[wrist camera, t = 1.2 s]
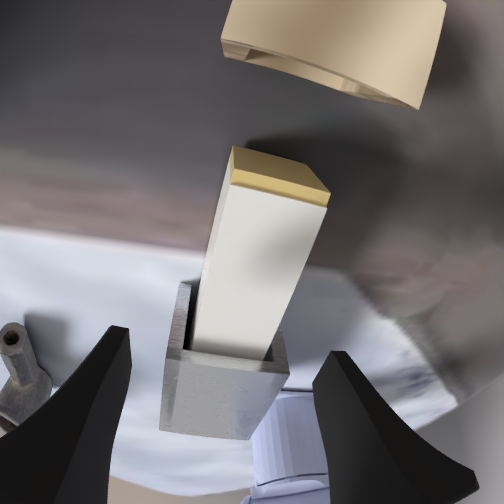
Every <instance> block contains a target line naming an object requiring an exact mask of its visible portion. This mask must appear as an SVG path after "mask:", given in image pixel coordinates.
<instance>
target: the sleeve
mask: <svg viewBox="0 0 504 504" xmlns="http://www.w3.org/2000/svg"><path fill="white" fill-rule="evenodd" d="M191 286H192V285H191V284H186V283H181V282H180V284H179V289H178V294H177V299H176V304H175V309H174V314H173V319H172V325H171V330H170V336H169V341H168V347H167V353H166V359H165V368H164V378H163V388H162V399H161V411H160V425H159V430H162V431H167V432H174V433H180V434H187V435H195V436H203V437H212V438H223V439H236V440H249V439H250V437H251V436H252V434H253V433H254V431H255V430H256V428H257V427H258V425H259V424H260V422H261V421H262V419H263V418H264V416H265V415H266V413H267V411H268V410H269V408H270V407H271V405H272V404H273V402H274V400H275V399H276V397H277V395H278V394H279V392H280V391H281V389H282V387H283V386H284V384H285V382H286V381H287V379H288V377H289V376H290V371H289V366H288V361H287V356H286V350H285V345H284V340H283V335H282V329H281V324H279V326H278V328H277V331H276V333H275V335H274V337H273V339H272V342H271V344H270V346H269V348H268V350H267V352H266V355H265V357H264V359H263V361H259V360H250V359H242V358H235V357H227V356H220V355H213V354H207V353H201V352H195V351H189V350H183V342H184V335H185V327H186V320H187V313H188V306H189V299H190V292H191Z"/></svg>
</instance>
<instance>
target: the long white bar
mask: <svg viewBox="0 0 504 504" xmlns="http://www.w3.org/2000/svg"><path fill="white" fill-rule="evenodd" d="M330 195H331V193H330V192H329V190H328V189H327V188H326V187H325V186H324V185H323V183H322V182H321V181H320V180H319V179H318V178H317V176H316V175H315V174H314V173H313V172H312V171H311V169H310V168H309V167H308V166H307V165H306V164H303V163H300V162H296V161H293V160H289V159H286V158H282V157H278V156H274V155H271V154H267V153H263V152H259V151H255V150H251V149H247V148H243V147H238V146H234V145H233V147H232V151H231V155H230V158H229V162H228V166H227V170H226V174H225V178H224V182H223V186H222V190H221V194H220V198H219V202H218V206H217V210H216V214H215V219H214V223H213V227H212V231H211V236H210V240H209V244H208V249H207V253H206V258H205V262H204V267H203V271H202V276H201V281H200V285H199V290H198V295H197V300H196V305H195V309H194V314H193V319H192V324H191V329H190V335H189V340H188V345H187V350H189V351H195V352H201V353H207V354H213V355H220V356H227V357H235V358H242V359H250V360H259V361H263V359H264V357H265V355H266V352H267V350H268V348H269V346H270V344H271V342H272V339H273V337H274V335H275V333H276V331H277V328H278V326H279V324H280V322H281V319H282V317H283V315H284V313H285V310H286V308H287V306H288V303H289V301H290V299H291V296H292V294H293V292H294V289H295V287H296V285H297V282H298V280H299V278H300V275H301V273H302V270H303V268H304V266H305V263H306V261H307V258H308V256H309V254H310V251H311V249H312V246H313V244H314V241H315V239H316V236H317V234H318V231H319V229H320V226H321V224H322V221H323V218H324V216H325V213H326V211H327V207H326V205H327V203H328V200H329V197H330Z"/></svg>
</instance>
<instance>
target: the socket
mask: <svg viewBox="0 0 504 504" xmlns="http://www.w3.org/2000/svg"><path fill="white" fill-rule="evenodd" d="M446 5H447V3H445V2H444V1H442V0H233V1H232V4H231V7H230V10H229V13H228V16H227V20H226V23H225V26H224V29H223V32H222V35H221V42H222V47H223V51H224V56H225V57H228V58H232V59H237V60H241V61H245V62H249V63H253V64H257V65H261V66H265V67H269V68H272V69H276V70H279V71H283V72H286V73H289V74H292V75H296V76H299V77H302V78H305V79H308V80H311V81H314V82H317V83H320V84H322V85H325V86H328V87H331V88H333V89H336V90H339V91H341V92H344V93H346V94H349V95H351V96H354V97H359V98H365V99H371V100H376V101H381V102H386V103H391V104H396V105H400V106H404V107H409V108H413V109H417V110H419V107H420V104H421V101H422V98H423V94H424V91H425V88H426V85H427V81H428V78H429V74H430V71H431V67H432V64H433V60H434V56H435V52H436V49H437V45H438V41H439V37H440V32H441V28H442V24H443V19H444V14H445V10H446Z"/></svg>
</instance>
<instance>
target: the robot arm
mask: <svg viewBox="0 0 504 504" xmlns="http://www.w3.org/2000/svg"><path fill="white" fill-rule="evenodd" d="M131 369H132V360H131V349H130V338H129V328H124V327H119V326H114V325H112V326H110V327H109V328H108V330H107V331H106V332H105V334H104V335H103V336H102V338H101V339H100V341H99V342H98V343H97V345H96V346H95V347H94V348H93V350H92V351H91V352H90V354H89V355H88V356H87V357H86V358H85V360H84V361H83V362H82V363H81V364H80V366H79V367H78V368H77V369H76V370H75V372H74V373H73V374H72V375H71V376H70V377H69V378H68V379H67V380H66V382H65V383H64V384H63V385H62V386H61V387H60V388H59V389H58V390H57V391H56V392H55V393H54V394H53V395H52V396H51V397H50V398H49V399H48V400H47V401H46V402H45V403H44V404H43V405H42V406H41V407H40V408H39V409H37V410H36V411H35V412H34V413H33V414H32V415H30V416H29V417H28V418H27V419H26V420H24V421H23V422H22V423H21V424H19V425H18V426H17V427H15V428H14V429H12V430H11V431H9V432H8V433H7V434H5V435H4V436H2V437H1V438H0V504H107V497H108V496H107V495H108V481H109V471H110V462H111V454H112V448H113V443H114V439H115V435H116V431H117V427H118V423H119V420H120V416H121V412H122V409H123V405H124V402H125V398H126V395H127V391H128V386H129V380H130V374H131ZM312 386H313V393H311V392H289V391H280V392H279V394H278V395H277V397H276V399H275V400H274V402H273V404H272V405H271V407H270V408H269V410H268V411H267V413H266V415H265V416H264V418H263V419H262V421H261V422H260V424H259V425H258V427H257V428H256V430H255V431H254V433H253V434H252V436H251V437H252V450H253V463H254V475H255V487H252V488H251V496H246V497H245V498H244V499H243V501H242V502H241V503H240V504H454V503H456V502H458V501H460V500H462V499H463V498H465V497H467V496H469V495H470V494H472V493H474V492H476V491H477V490H478V489H479V484H478V481H477V479H476V476H475V473H474V471H473V470H471V469H469V468H467V467H465V466H463V465H461V464H459V463H457V462H455V461H454V460H452V459H451V458H449V457H447V456H446V455H444V454H443V453H441V452H440V451H438V450H437V449H435V448H434V447H433V446H431V445H430V444H429V443H428V442H426V441H425V440H424V439H423V438H421V437H420V436H419V435H418V434H417V433H416V432H414V431H413V430H412V429H411V428H410V427H409V426H408V425H407V424H406V423H405V422H404V421H403V420H402V419H401V418H400V417H399V416H398V415H397V414H396V413H395V412H394V411H393V409H392V408H391V407H390V406H389V405H388V404H387V403H386V402H385V400H384V399H383V398H382V397H381V396H380V394H379V393H378V392H377V391H376V390H375V388H374V387H373V386H372V385H371V383H370V382H369V381H368V379H367V378H366V377H365V376H364V374H363V373H362V372H361V370H360V369H359V368H358V366H357V365H356V364H355V363H354V361H353V360H352V359H351V357H350V356H349V355H348V354H347V353H346V351H331V352H330V353H329V355H328V357H327V359H326V360H325V362H324V364H323V366H322V367H321V369H320V371H319V372H318V374H317V376H316V377H315V379H314V381H313V382H312Z"/></svg>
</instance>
